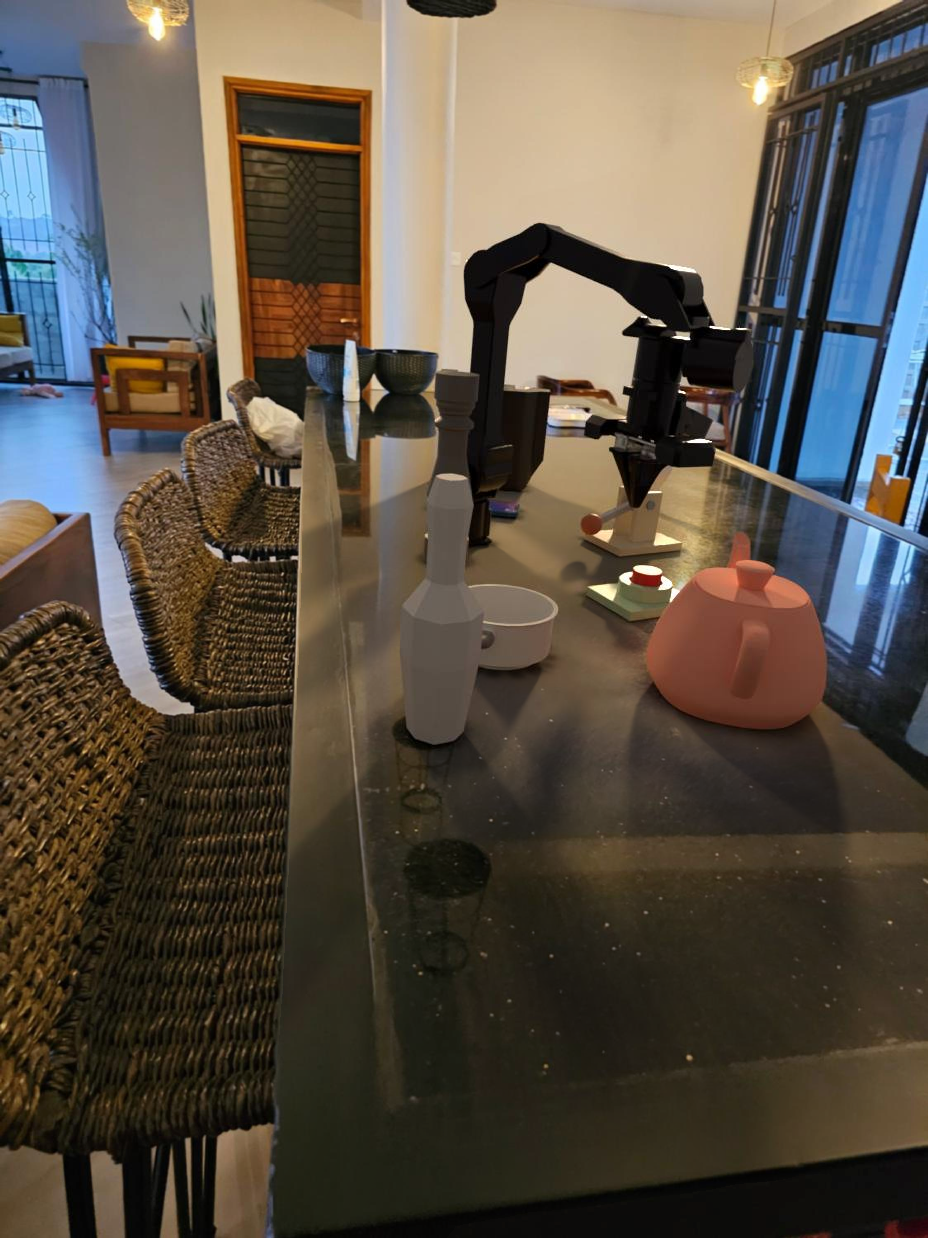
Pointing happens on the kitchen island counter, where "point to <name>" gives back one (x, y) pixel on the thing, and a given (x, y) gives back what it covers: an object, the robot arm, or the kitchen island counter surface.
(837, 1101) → the kitchen island counter surface
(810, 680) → the teapot
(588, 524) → the switch lever
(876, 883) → the kitchen island counter surface
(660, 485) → the lightbulb
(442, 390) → the candle holder
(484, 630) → the saucepan
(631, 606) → the button housing
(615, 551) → the switch bracket
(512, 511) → the smartphone
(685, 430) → the robot arm
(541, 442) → the brown vase set
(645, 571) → the button
